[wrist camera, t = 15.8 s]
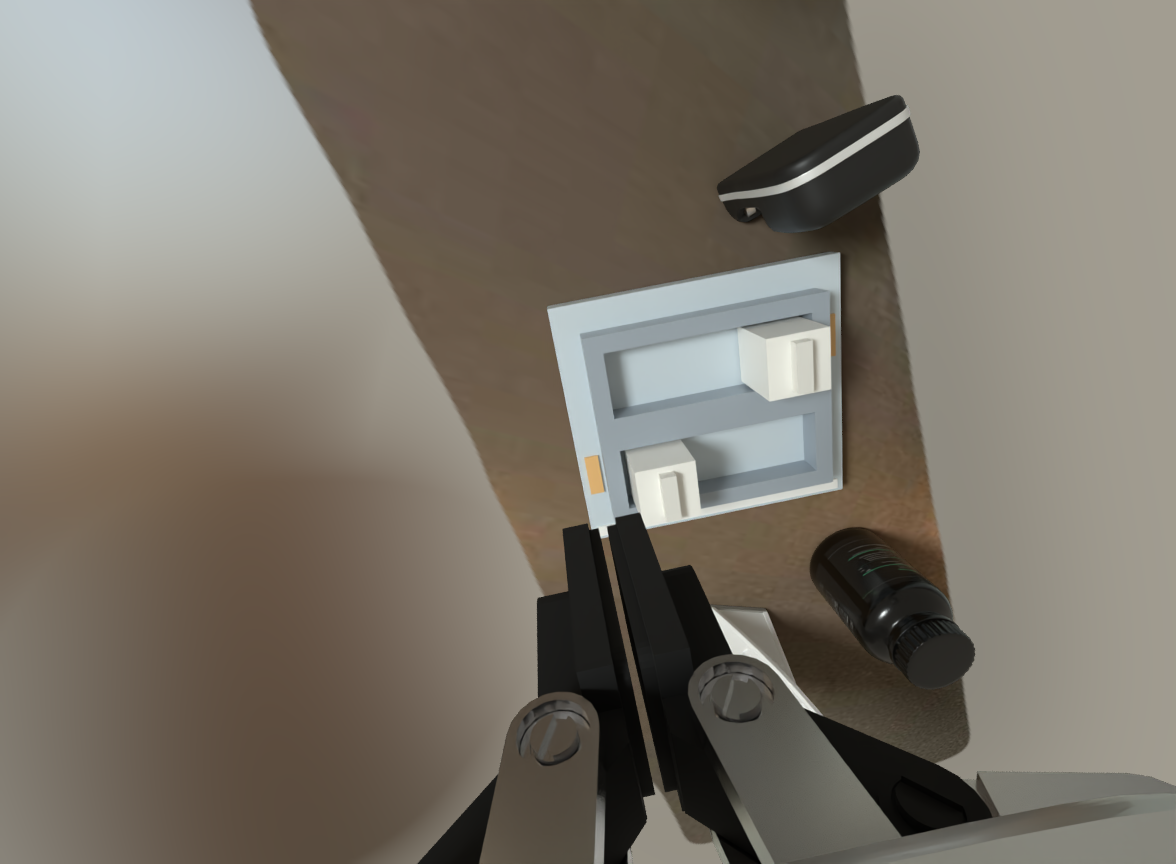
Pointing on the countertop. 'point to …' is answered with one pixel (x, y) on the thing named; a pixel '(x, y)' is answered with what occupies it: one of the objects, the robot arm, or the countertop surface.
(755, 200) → the battery charger
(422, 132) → the countertop surface
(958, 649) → the supplement bottle
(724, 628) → the skyscraper
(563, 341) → the switch bank
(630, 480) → the tab
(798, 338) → the tab
